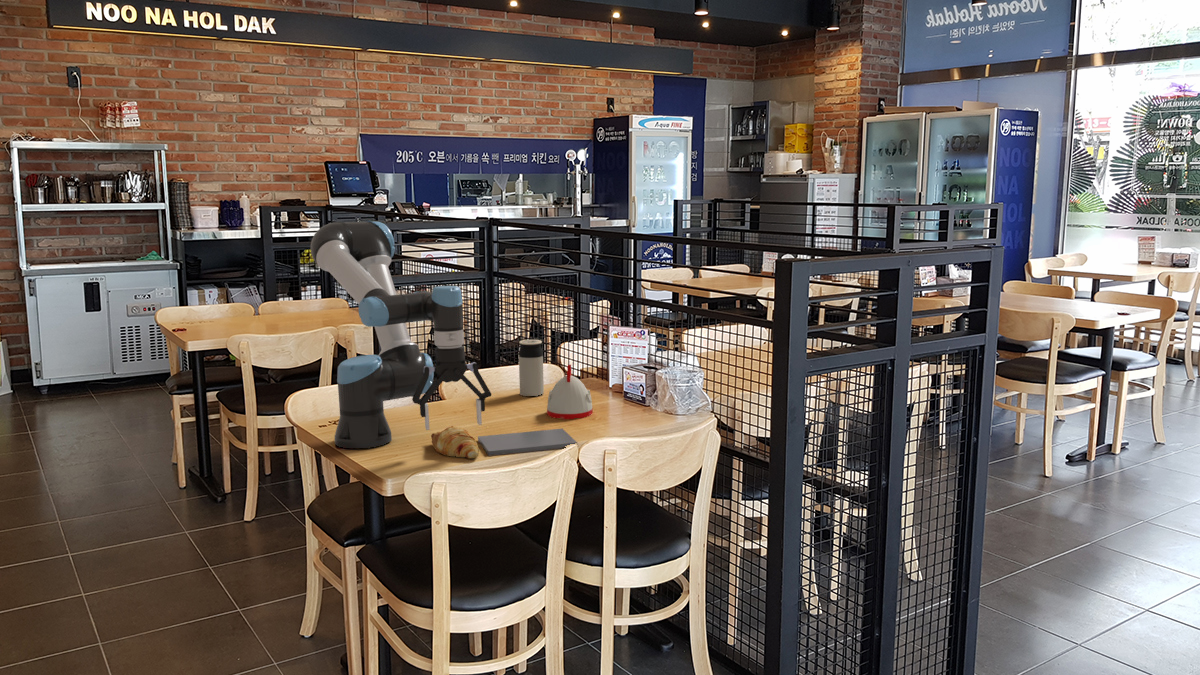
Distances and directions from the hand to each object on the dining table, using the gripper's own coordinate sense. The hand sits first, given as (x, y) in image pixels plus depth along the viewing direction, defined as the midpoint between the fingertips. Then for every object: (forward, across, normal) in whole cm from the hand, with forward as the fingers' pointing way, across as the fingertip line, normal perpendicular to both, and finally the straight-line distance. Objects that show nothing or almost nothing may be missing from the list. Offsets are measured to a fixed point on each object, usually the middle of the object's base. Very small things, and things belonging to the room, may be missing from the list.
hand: (453, 426), depth 239 cm
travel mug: (+6, +35, +59) cm, 68 cm away
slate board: (+7, +20, +2) cm, 21 cm away
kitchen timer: (+7, +40, +30) cm, 50 cm away
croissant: (+8, 0, +1) cm, 8 cm away
